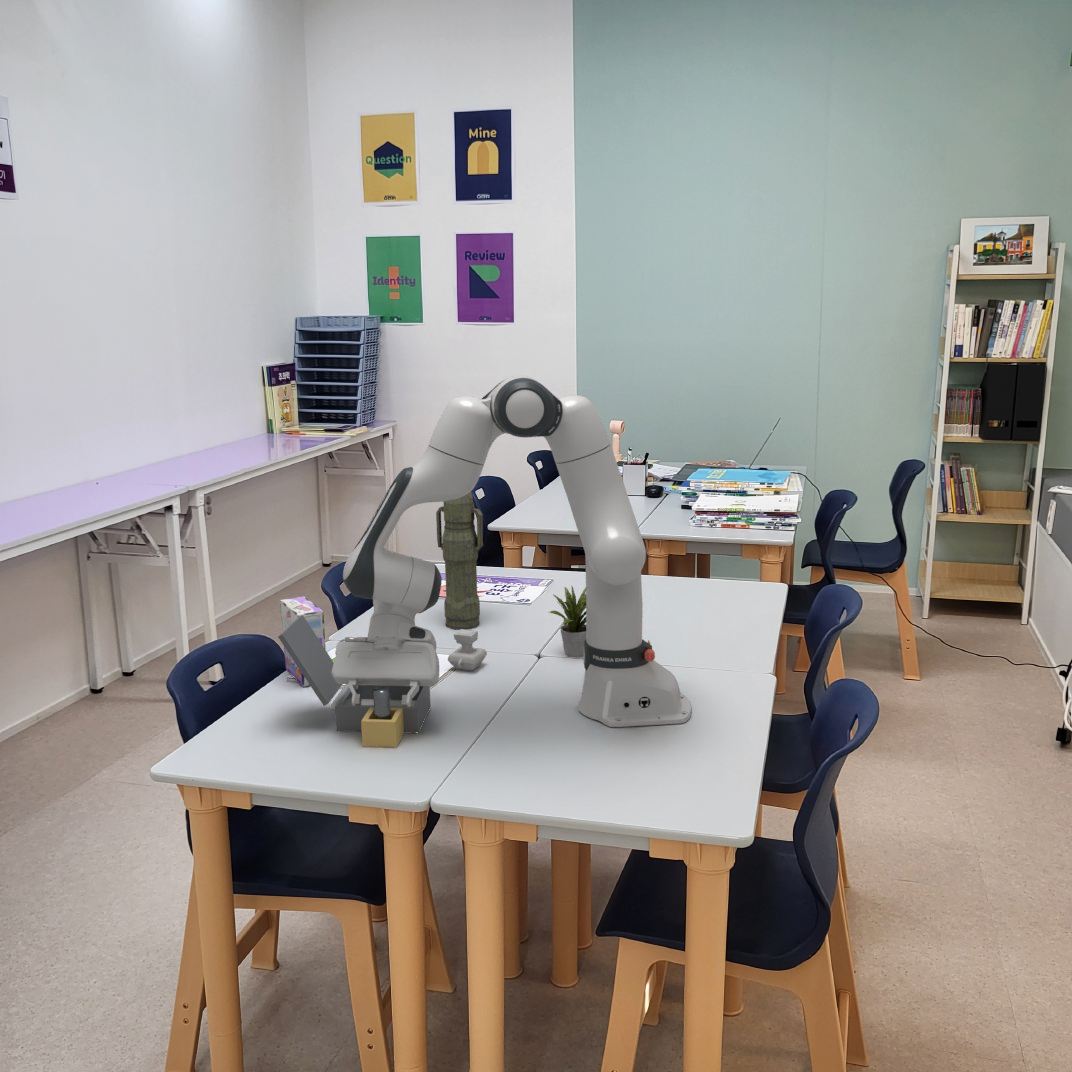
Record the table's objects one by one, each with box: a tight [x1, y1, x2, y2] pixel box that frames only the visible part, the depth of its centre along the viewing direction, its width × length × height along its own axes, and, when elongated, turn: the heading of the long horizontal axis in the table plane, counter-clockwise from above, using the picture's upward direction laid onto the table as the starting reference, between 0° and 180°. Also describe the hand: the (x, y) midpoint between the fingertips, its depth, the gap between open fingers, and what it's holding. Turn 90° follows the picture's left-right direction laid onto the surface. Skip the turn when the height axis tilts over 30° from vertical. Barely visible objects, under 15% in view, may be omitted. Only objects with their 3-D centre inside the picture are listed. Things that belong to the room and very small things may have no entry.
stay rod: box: [373, 687, 391, 720], centre depth 185 cm, size 3×3×10 cm
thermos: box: [435, 490, 484, 631], centre depth 248 cm, size 9×12×35 cm
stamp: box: [447, 629, 488, 671], centre depth 222 cm, size 9×7×8 cm
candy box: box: [279, 596, 326, 688], centre depth 217 cm, size 14×6×16 cm, turn 30°
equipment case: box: [330, 684, 431, 733], centre depth 195 cm, size 17×12×6 cm
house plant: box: [548, 586, 586, 658], centre depth 227 cm, size 14×14×16 cm
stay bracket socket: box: [361, 707, 405, 748], centre depth 186 cm, size 6×6×5 cm
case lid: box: [277, 615, 344, 707], centre depth 194 cm, size 16×12×1 cm
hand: (381, 705), depth 184 cm, fingers open, 8 cm apart
